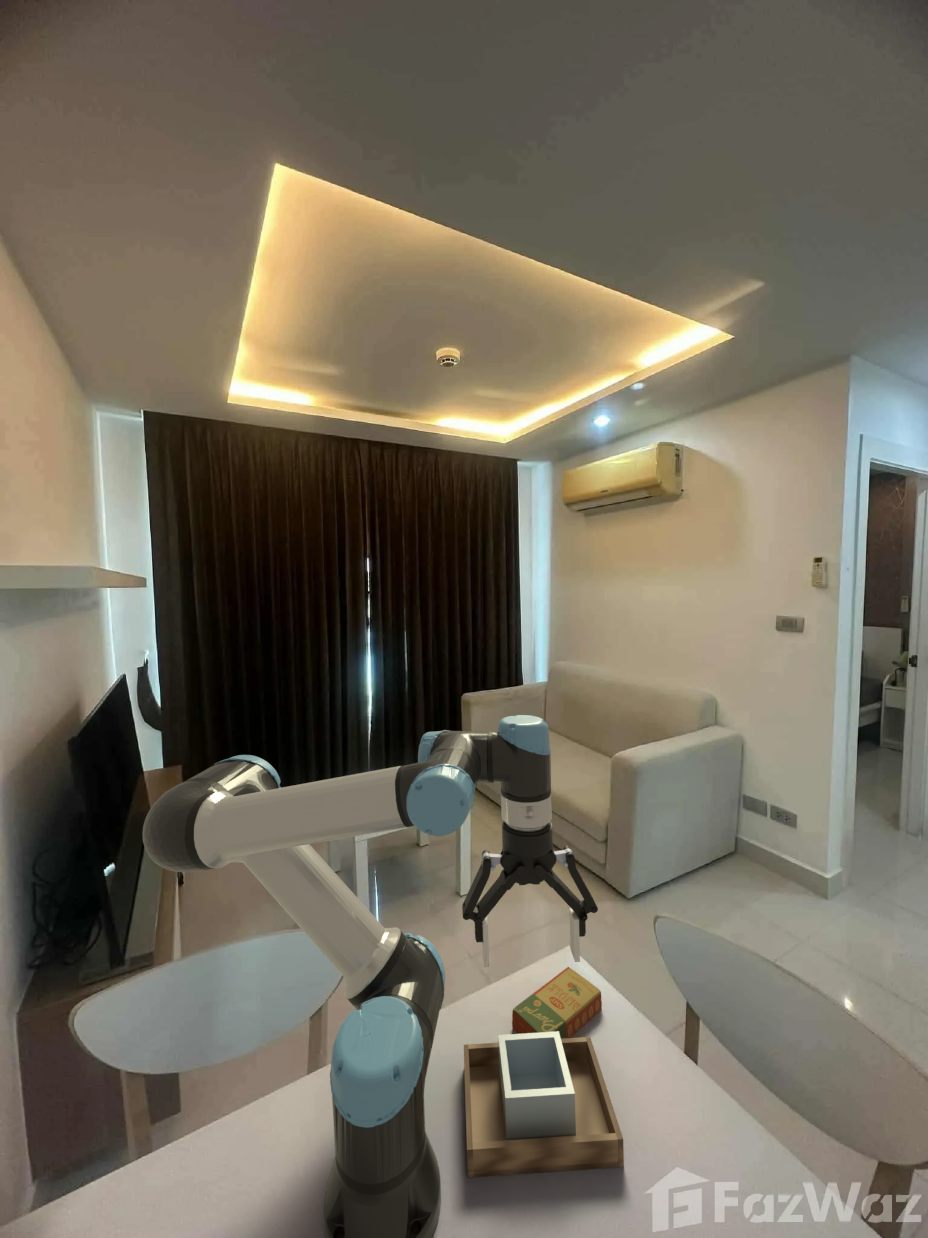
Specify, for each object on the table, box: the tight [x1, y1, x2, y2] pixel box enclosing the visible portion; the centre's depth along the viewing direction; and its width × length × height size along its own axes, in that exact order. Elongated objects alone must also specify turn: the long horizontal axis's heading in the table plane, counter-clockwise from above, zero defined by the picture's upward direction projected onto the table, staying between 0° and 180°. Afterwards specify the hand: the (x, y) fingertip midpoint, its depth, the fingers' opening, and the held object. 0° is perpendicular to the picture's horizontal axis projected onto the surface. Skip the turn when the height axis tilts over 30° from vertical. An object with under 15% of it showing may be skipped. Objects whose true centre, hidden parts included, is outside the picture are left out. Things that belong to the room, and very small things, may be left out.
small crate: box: [497, 1031, 576, 1141], centre depth 74 cm, size 10×10×7 cm
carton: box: [511, 966, 603, 1039], centre depth 90 cm, size 8×16×4 cm, turn 128°
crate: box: [463, 1036, 625, 1179], centre depth 74 cm, size 22×16×4 cm
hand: (530, 958), depth 73 cm, fingers open, 13 cm apart
